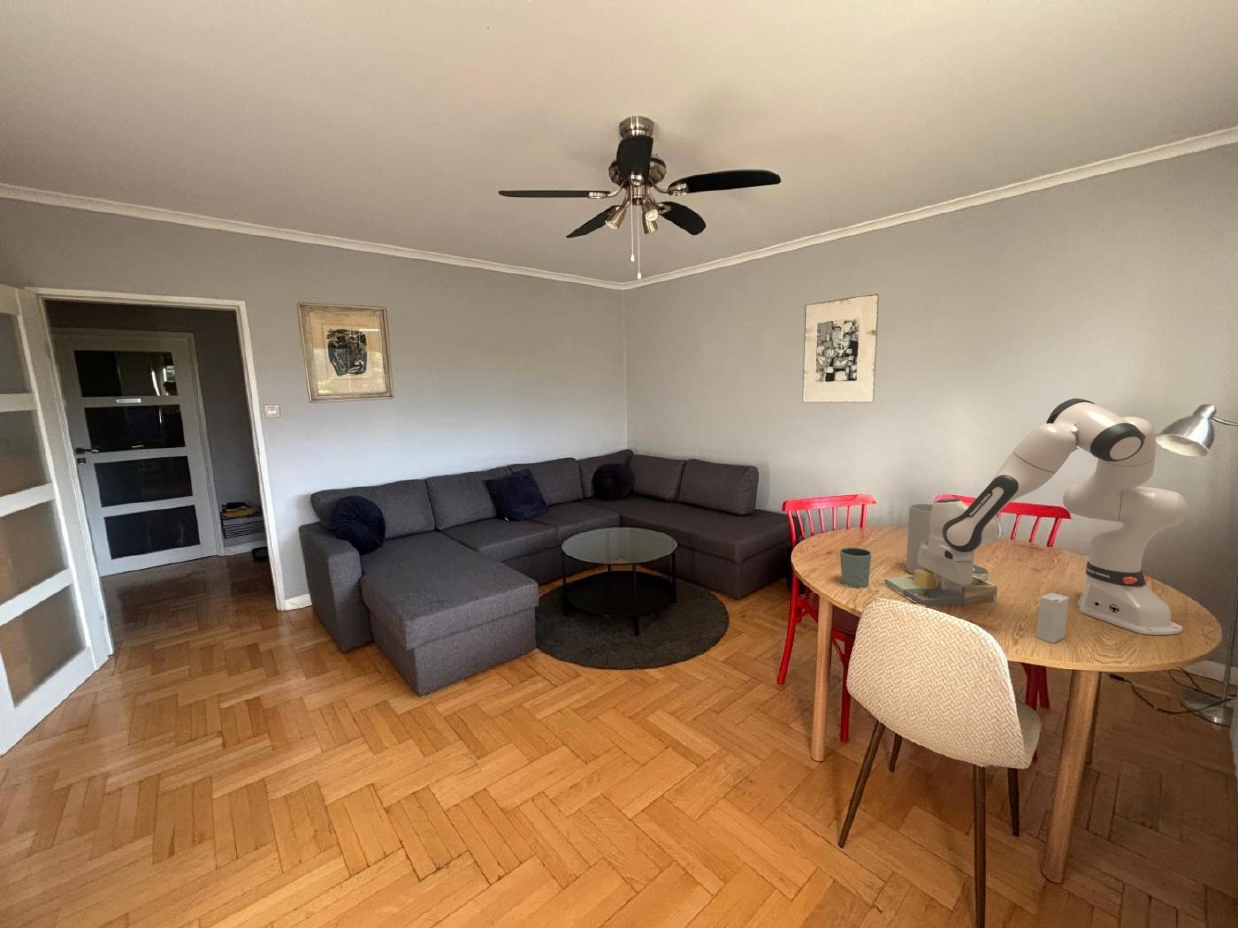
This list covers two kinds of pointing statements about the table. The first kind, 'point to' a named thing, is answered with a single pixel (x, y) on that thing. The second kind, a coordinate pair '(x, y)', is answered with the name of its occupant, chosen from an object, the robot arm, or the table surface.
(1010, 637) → the table surface
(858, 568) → the teal cup
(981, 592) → the brown wooden open box
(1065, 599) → the skincare box
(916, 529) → the cylinder vase
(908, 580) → the grey tray
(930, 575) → the ochre block
